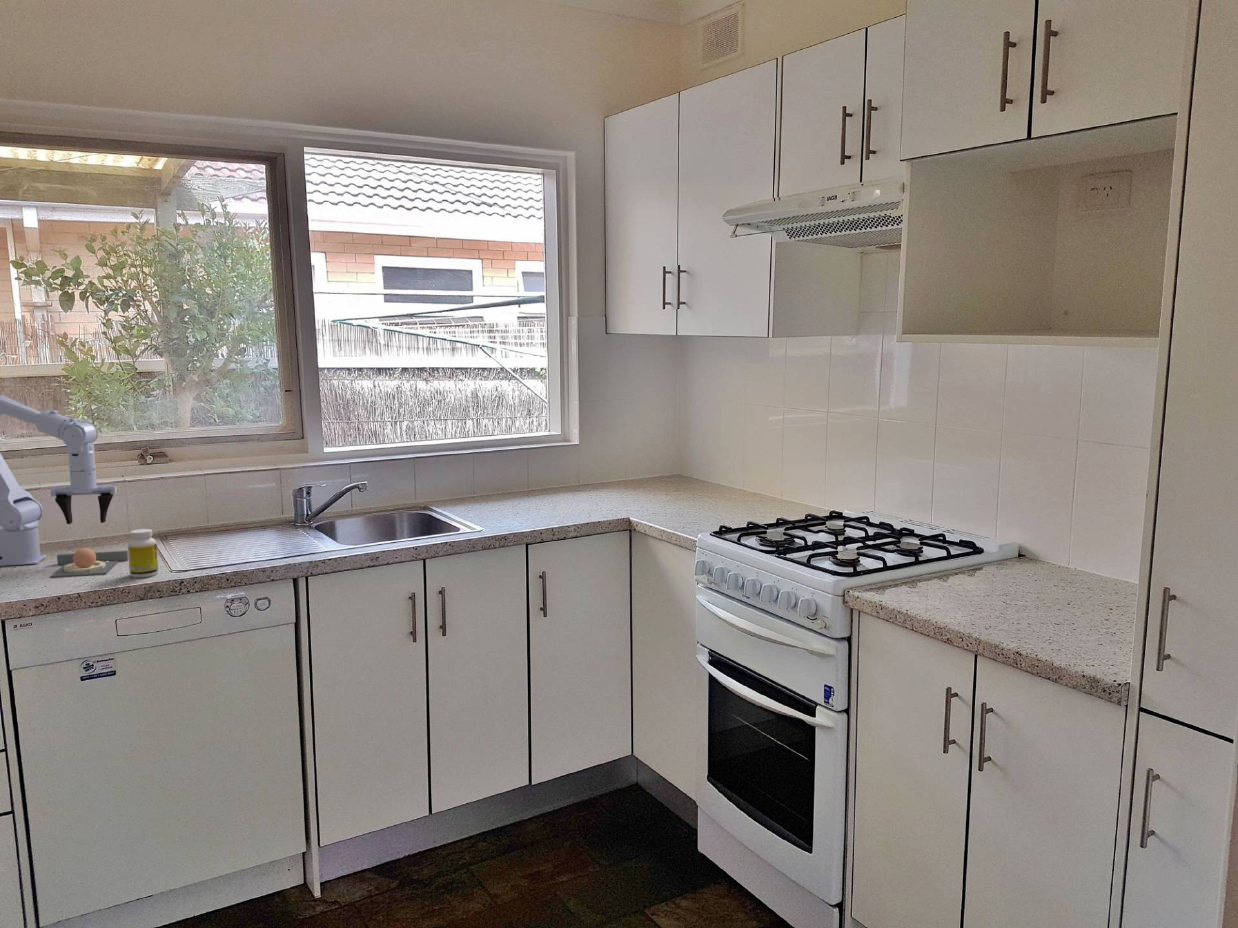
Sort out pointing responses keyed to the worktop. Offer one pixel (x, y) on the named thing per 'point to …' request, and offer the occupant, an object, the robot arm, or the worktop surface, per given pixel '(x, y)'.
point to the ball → (84, 558)
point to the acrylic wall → (99, 557)
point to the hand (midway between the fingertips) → (86, 522)
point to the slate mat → (84, 569)
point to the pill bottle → (142, 554)
